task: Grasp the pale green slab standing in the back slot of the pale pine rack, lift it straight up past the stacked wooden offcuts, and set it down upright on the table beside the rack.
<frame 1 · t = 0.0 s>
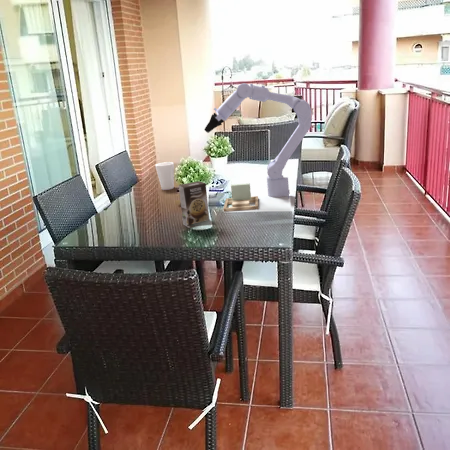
hand: (207, 130, 206), 32 cm above the table, tool tilted 50°, fingers open, 7 cm apart
foam cup: (167, 188, 252), on the table
rack: (241, 207, 203), on the table
pale green slab: (242, 204, 208), on the table
brown cookie box: (196, 224, 188), on the table
offcut upper: (241, 207, 199), point 1 cm above the table, touching offcut lower
offcut lower: (241, 211, 200), on the table, touching offcut upper
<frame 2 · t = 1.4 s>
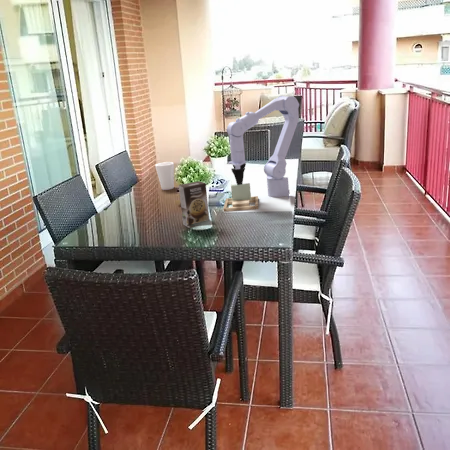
hand: (240, 182, 205), 10 cm above the table, tool pointing down, fingers open, 7 cm apart
nothing on the table moved.
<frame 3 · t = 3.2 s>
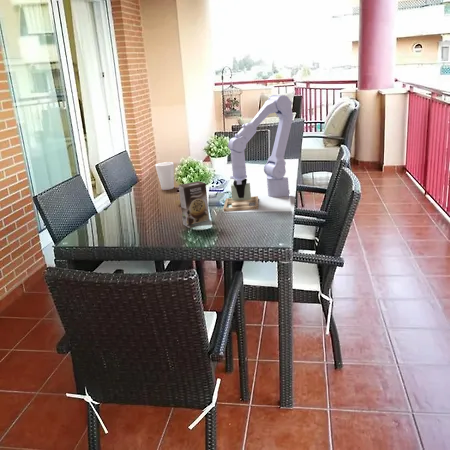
hand: (241, 196, 207), 3 cm above the table, tool pointing down, fingers closed on pale green slab, 2 cm apart
pale green slab: (242, 204, 208), on the table, touching gripper
everything else where it was.
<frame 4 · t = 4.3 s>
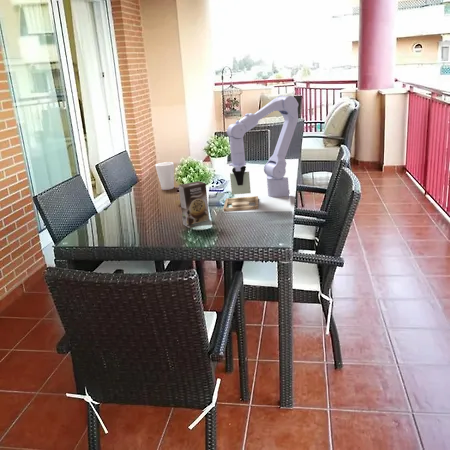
hand: (240, 184, 205), 9 cm above the table, tool pointing down, fingers closed on pale green slab
pale green slab: (241, 193, 207), point 5 cm above the table, touching gripper
everything else where it was.
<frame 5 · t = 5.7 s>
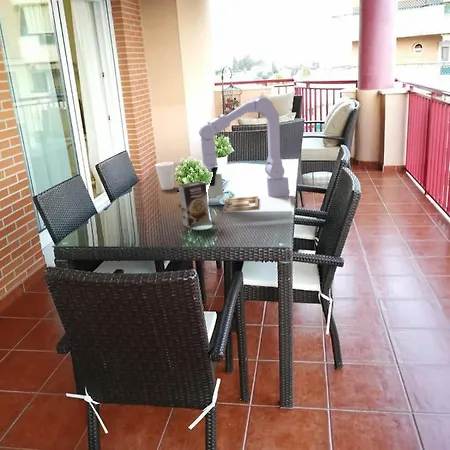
hand: (212, 185, 206), 10 cm above the table, tool pointing down, fingers closed on pale green slab
pale green slab: (213, 195, 208), point 5 cm above the table, touching gripper
everything else where it was.
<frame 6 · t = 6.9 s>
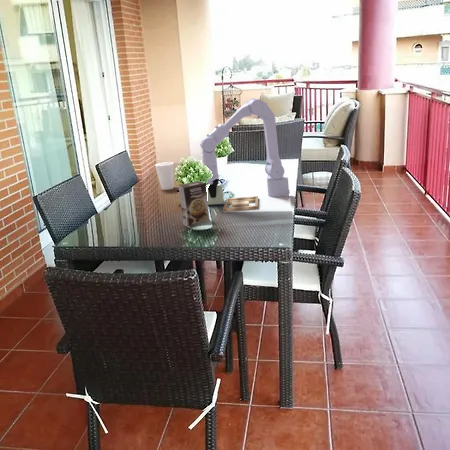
hand: (213, 196, 208), 4 cm above the table, tool pointing down, fingers closed on pale green slab, 2 cm apart
pale green slab: (214, 206, 209), on the table, touching gripper
everything else where it was.
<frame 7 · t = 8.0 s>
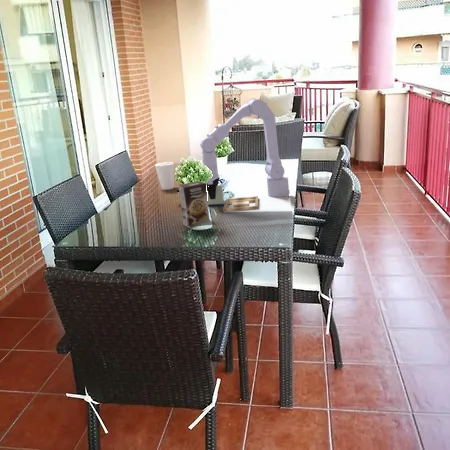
hand: (213, 196, 208), 4 cm above the table, tool pointing down, fingers open, 7 cm apart
pale green slab: (214, 206, 209), on the table
offcut upper: (241, 207, 199), point 1 cm above the table
offcut lower: (241, 212, 199), on the table
everything else where it was.
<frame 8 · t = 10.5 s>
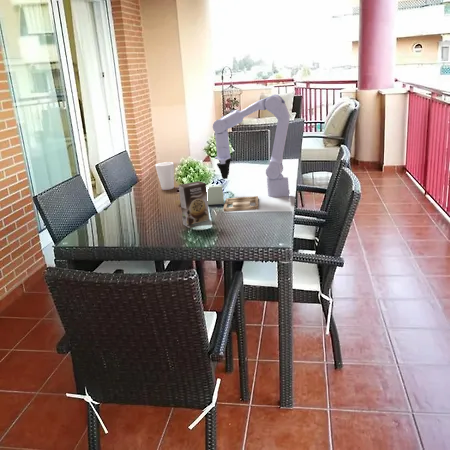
hand: (225, 176, 216), 10 cm above the table, tool pointing down, fingers open, 7 cm apart
nothing on the table moved.
at the end: pale green slab inside the target area (0.0 cm from its centre), on the table; pale green slab tilted 0°; offcut upper moved 1.1 cm from its start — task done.
